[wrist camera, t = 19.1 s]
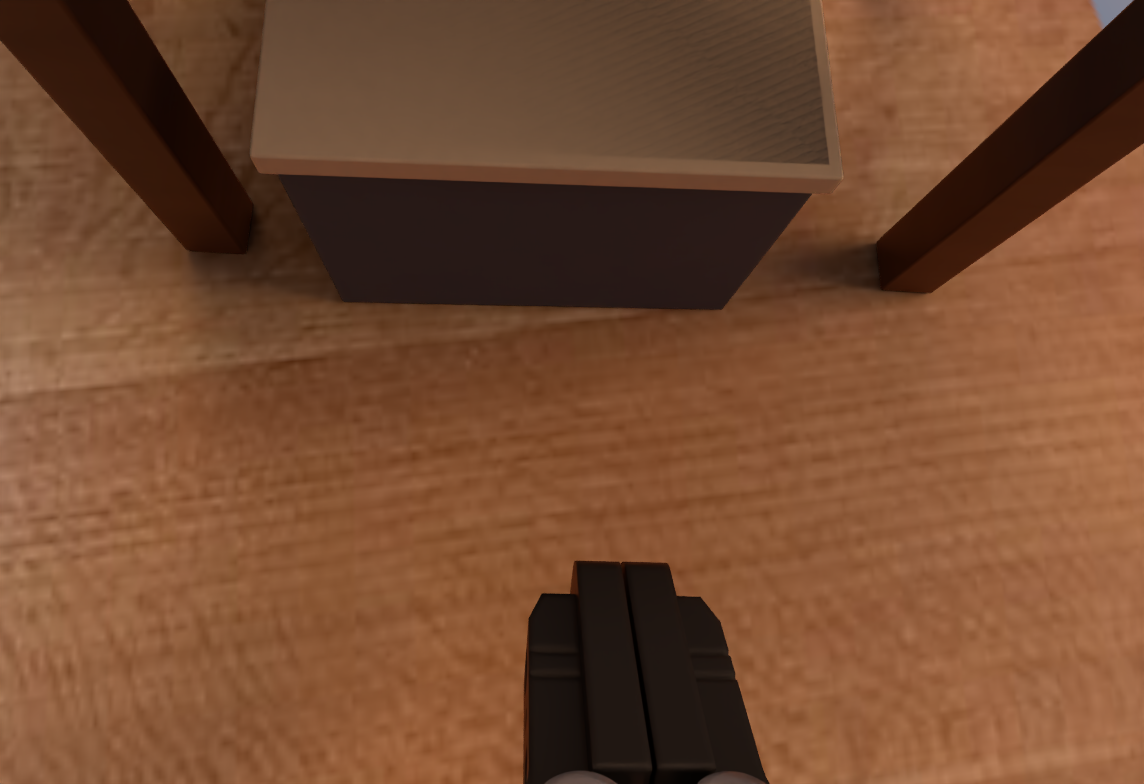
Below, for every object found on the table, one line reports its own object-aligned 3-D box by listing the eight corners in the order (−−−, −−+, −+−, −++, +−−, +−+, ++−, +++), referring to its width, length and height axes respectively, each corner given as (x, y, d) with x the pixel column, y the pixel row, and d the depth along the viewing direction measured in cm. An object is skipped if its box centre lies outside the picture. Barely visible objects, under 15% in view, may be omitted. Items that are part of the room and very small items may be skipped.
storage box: (730, 317, 20) (845, 178, 14) (333, 309, 19) (247, 155, 13) (706, -3, 23) (792, -250, 16) (357, -25, 22) (296, -297, 15)
